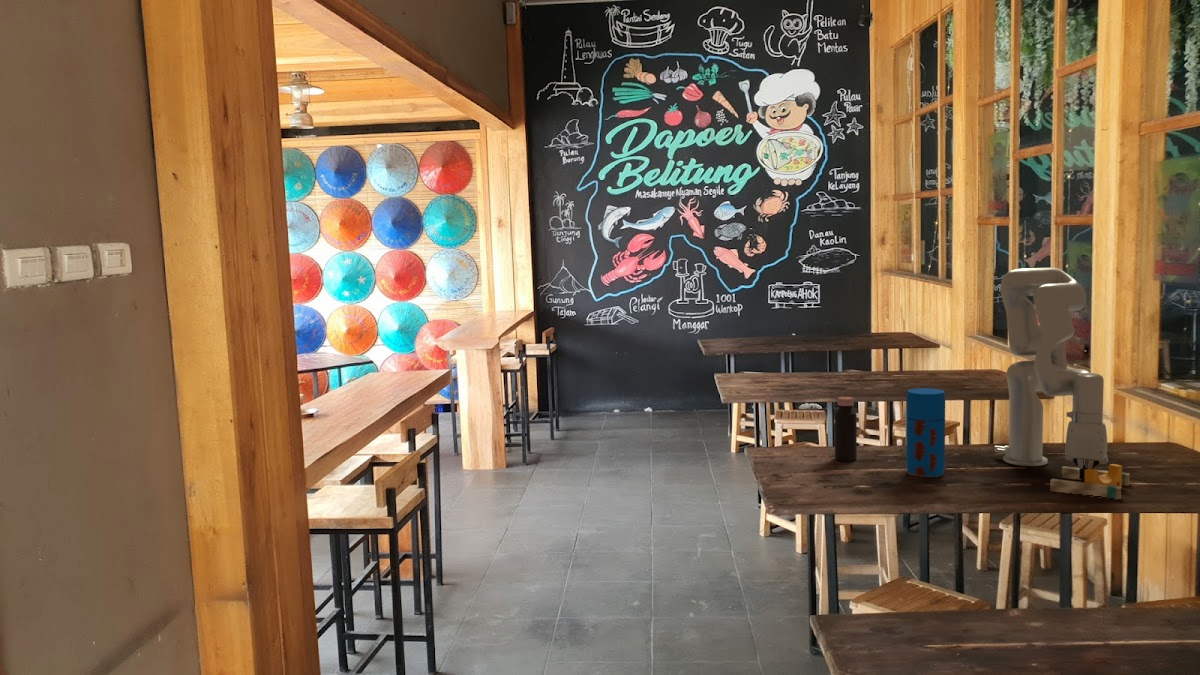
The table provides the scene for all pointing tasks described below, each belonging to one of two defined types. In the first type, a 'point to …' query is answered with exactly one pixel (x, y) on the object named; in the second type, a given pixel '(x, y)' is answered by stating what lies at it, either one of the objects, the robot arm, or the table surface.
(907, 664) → the table surface
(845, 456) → the bottle
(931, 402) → the thermos
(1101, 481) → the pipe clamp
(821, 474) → the table surface
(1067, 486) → the channel
